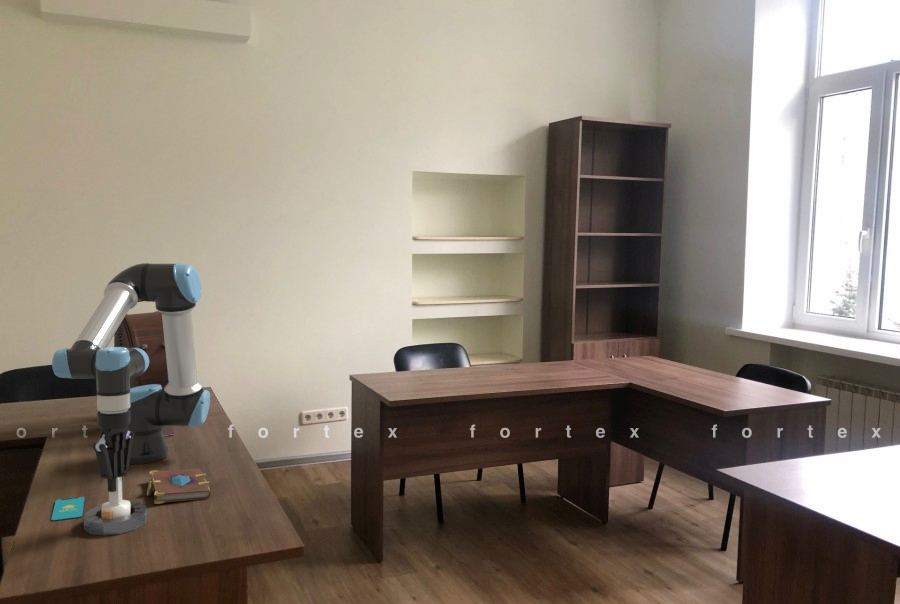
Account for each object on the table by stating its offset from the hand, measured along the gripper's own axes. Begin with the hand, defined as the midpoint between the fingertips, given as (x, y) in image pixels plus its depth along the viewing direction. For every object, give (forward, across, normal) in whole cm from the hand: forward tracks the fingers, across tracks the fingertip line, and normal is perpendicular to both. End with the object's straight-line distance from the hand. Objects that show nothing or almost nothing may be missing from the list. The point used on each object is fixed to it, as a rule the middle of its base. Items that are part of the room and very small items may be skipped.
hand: (115, 502), depth 181 cm
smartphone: (+6, -5, -18) cm, 20 cm away
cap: (+6, 0, 0) cm, 6 cm away
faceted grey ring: (+6, 0, 0) cm, 6 cm away
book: (+6, -27, 0) cm, 27 cm away
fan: (+6, -81, -48) cm, 94 cm away
